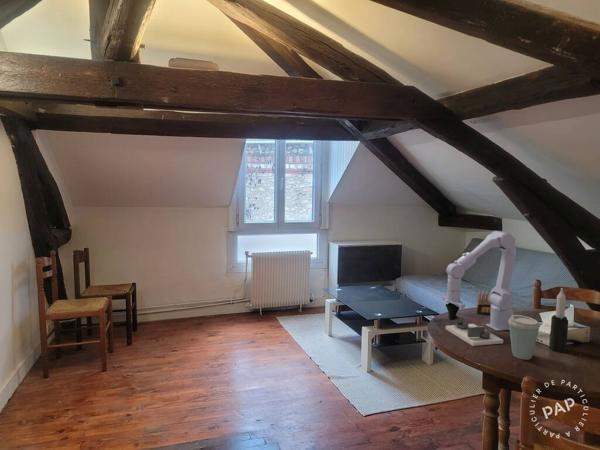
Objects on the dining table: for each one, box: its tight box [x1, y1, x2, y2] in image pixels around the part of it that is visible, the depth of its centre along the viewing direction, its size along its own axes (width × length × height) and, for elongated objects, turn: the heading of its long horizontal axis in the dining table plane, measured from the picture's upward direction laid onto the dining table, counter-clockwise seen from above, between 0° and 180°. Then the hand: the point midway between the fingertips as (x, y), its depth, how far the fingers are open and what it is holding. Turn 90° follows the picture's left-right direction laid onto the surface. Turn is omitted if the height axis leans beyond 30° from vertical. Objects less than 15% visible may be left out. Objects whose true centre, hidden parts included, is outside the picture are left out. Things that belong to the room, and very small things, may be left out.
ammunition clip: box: [476, 290, 491, 316], centre depth 208 cm, size 11×2×12 cm, turn 78°
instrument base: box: [445, 323, 504, 347], centre depth 179 cm, size 14×20×2 cm
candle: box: [549, 287, 569, 354], centre depth 164 cm, size 5×5×25 cm
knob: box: [448, 314, 469, 329], centre depth 187 cm, size 10×4×4 cm, turn 31°
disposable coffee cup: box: [508, 314, 541, 361], centre depth 157 cm, size 11×11×15 cm
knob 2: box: [467, 325, 491, 339], centre depth 173 cm, size 10×4×4 cm, turn 102°
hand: (452, 319), depth 187 cm, fingers closed, pressing on knob
